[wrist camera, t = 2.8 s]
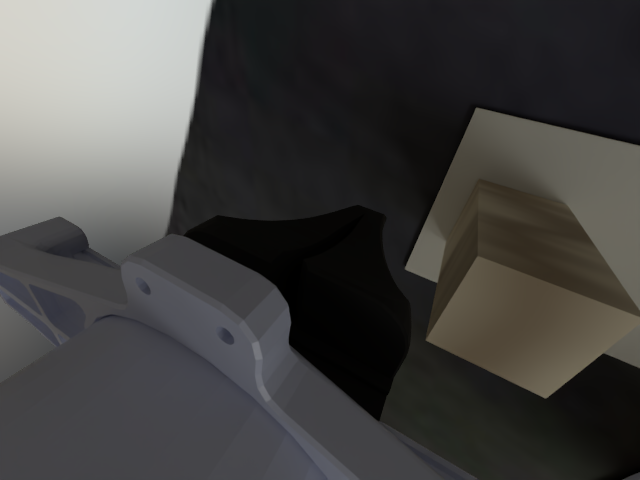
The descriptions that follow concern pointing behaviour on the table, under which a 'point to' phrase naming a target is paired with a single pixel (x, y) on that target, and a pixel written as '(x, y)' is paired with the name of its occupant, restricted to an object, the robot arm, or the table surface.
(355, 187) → the table surface
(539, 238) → the birch block
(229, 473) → the robot arm
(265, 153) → the table surface
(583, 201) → the felt mat
